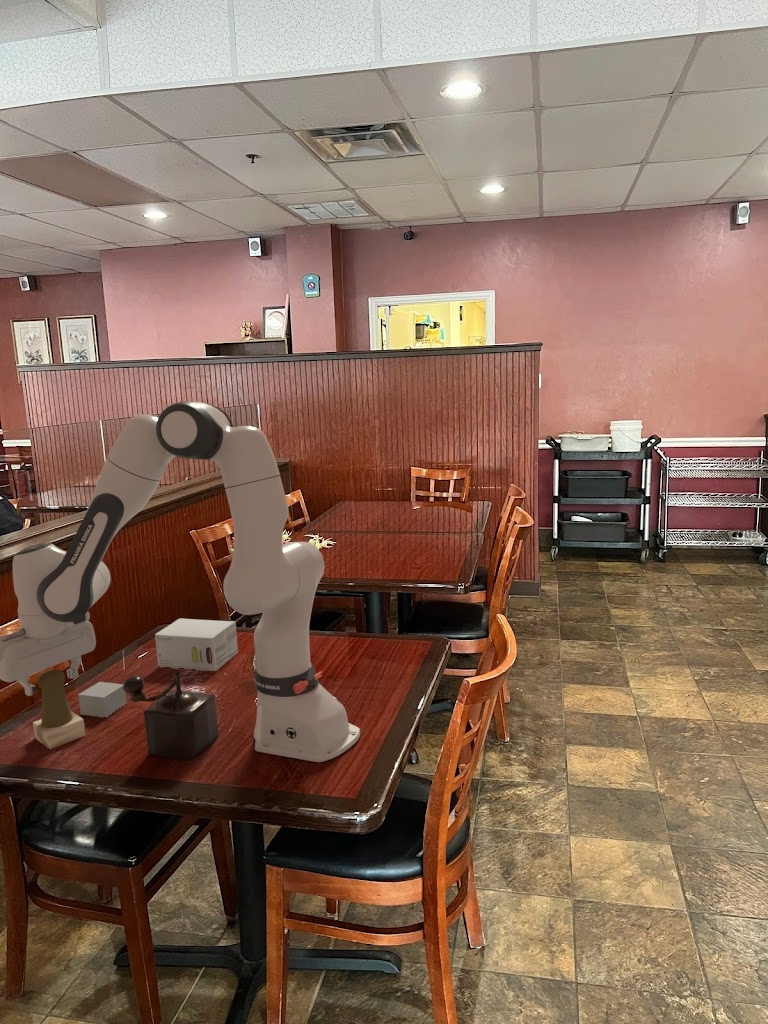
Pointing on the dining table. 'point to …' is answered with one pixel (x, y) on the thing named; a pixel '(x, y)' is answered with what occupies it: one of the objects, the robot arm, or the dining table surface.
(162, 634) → the supplement box
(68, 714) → the cork
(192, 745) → the pepper mill
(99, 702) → the grey block
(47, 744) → the maple block
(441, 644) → the dining table surface
